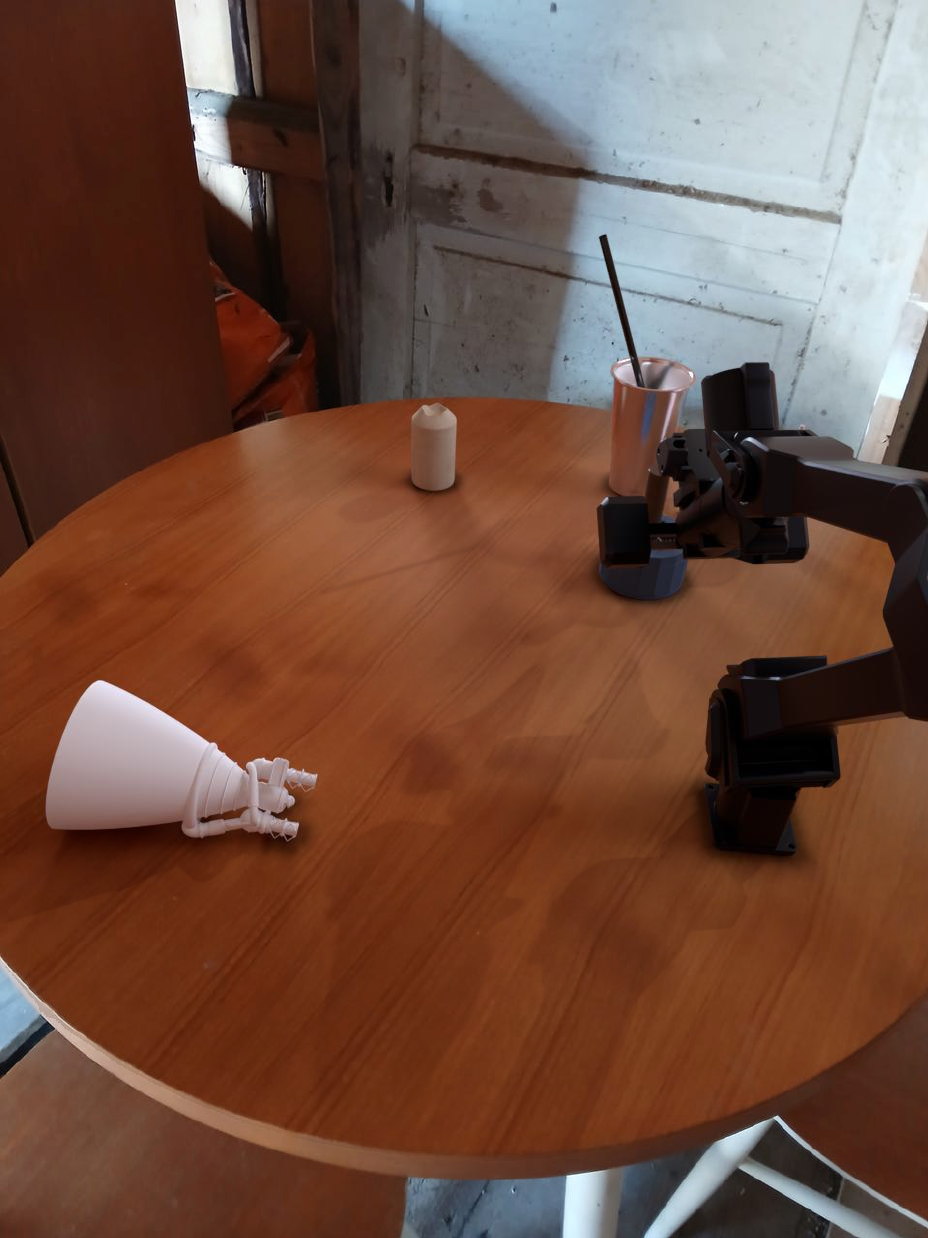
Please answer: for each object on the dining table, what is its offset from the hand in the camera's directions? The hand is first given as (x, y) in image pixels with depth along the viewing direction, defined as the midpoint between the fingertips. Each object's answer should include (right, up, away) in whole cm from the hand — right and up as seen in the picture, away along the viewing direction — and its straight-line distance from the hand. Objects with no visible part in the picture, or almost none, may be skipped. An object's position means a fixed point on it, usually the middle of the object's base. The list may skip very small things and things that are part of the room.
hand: (672, 549), depth 90 cm
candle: (-25, +11, +26) cm, 37 cm away
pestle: (-1, -2, +11) cm, 11 cm away
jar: (-1, -2, +11) cm, 11 cm away
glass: (0, +10, +27) cm, 29 cm away
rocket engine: (-43, -23, -18) cm, 52 cm away
